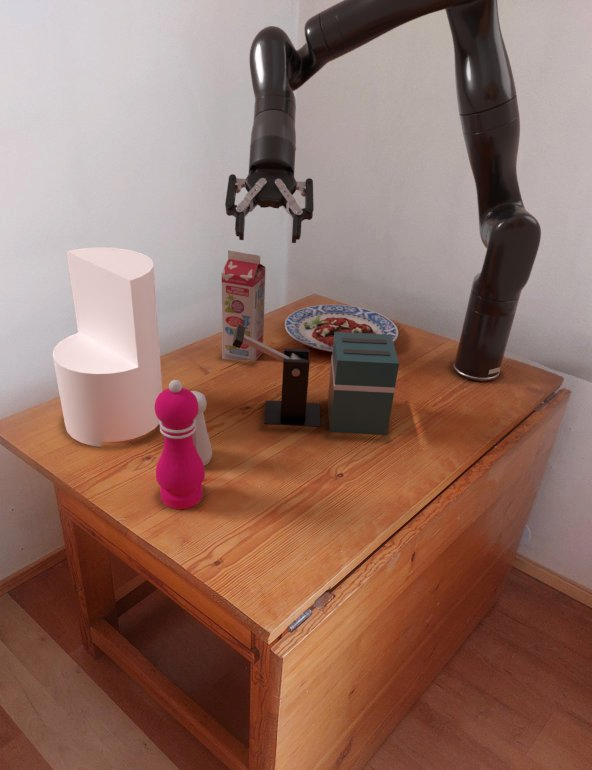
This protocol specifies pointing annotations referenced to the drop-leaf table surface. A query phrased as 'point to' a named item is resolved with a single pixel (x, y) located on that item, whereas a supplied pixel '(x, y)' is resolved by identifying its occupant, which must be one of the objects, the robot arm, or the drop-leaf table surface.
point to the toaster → (362, 383)
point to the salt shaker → (201, 431)
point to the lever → (259, 345)
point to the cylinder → (110, 347)
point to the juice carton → (242, 303)
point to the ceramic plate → (335, 324)
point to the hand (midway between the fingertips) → (267, 239)
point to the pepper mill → (178, 448)
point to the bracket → (294, 395)
